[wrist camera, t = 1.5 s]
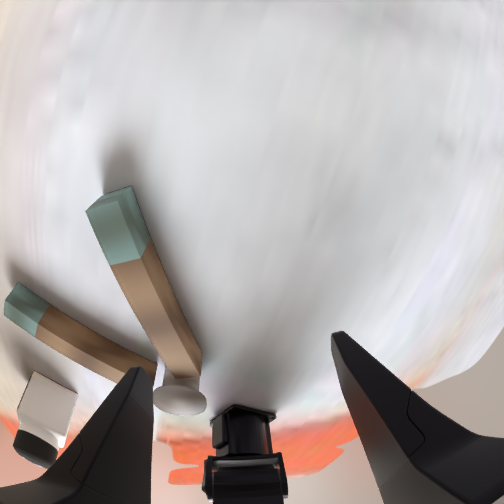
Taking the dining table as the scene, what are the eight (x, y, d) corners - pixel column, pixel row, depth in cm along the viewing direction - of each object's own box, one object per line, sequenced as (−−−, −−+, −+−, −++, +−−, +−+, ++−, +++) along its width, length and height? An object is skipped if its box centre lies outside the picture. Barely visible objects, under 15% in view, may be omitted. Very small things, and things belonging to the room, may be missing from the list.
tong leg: (201, 352, 26) (200, 376, 24) (178, 356, 26) (175, 379, 24) (131, 185, 18) (117, 200, 15) (102, 195, 18) (85, 211, 16)
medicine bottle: (33, 369, 28) (4, 441, 17) (79, 393, 30) (57, 469, 20) (33, 390, 30) (11, 453, 20) (73, 410, 33) (56, 476, 22)
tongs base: (217, 369, 28) (217, 401, 24) (189, 391, 30) (187, 421, 26) (23, 259, 20) (0, 285, 16) (16, 297, 22) (-2, 322, 18)
